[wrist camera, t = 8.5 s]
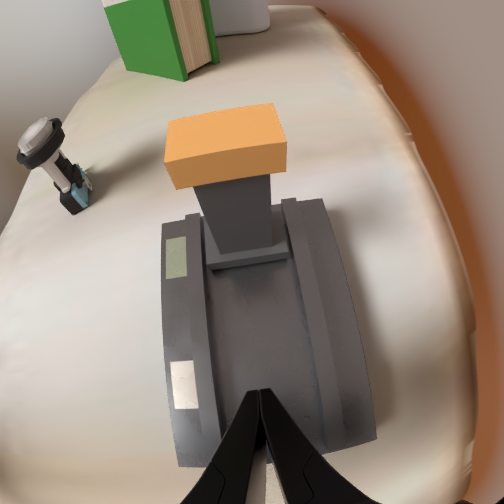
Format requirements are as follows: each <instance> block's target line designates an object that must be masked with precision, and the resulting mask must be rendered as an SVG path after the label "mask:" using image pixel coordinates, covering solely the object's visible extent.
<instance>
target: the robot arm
mask: <svg viewBox="0 0 504 504" xmlns="http://www.w3.org/2000/svg"><path fill="white" fill-rule="evenodd" d="M266 440H267V442H266ZM267 444H268V448H269V452H270V455H271V459H272V462H273V466H274V469H275V472H276V476H277V479H278V482H279V486H280V489H281V492H282V495H283V498H284V502H285V504H381V503H378V502H376V501H374V500H372V499H371V498H369V497H368V496H366V495H365V494H363V493H362V492H361V491H360V490H358V489H357V488H356V487H355V486H353V485H352V484H351V483H350V482H349V481H347V480H346V479H345V478H344V477H343V476H341V475H340V474H339V473H338V472H337V471H336V470H335V469H334V468H333V467H332V466H331V465H330V464H329V463H328V462H327V461H326V460H325V459H324V457H323V456H322V455H321V454H320V453H319V451H318V450H317V449H316V448H315V447H314V445H313V444H312V443H311V441H310V440H309V439H308V438H307V436H306V435H305V434H304V432H303V431H302V430H301V429H300V427H299V426H298V425H297V423H296V422H295V421H294V419H293V418H292V417H291V415H290V414H289V413H288V411H287V410H286V409H285V407H284V406H283V405H282V403H281V402H280V400H279V399H278V398H277V396H276V395H275V394H274V392H273V391H272V389H271V388H264V389H260V390H259V391H258V390H249V391H247V392H246V393H245V395H244V397H243V400H242V402H241V404H240V405H239V407H238V409H237V411H236V413H235V415H234V417H233V419H232V421H231V423H230V425H229V427H228V429H227V431H226V433H225V435H224V436H223V438H222V440H221V442H220V444H219V446H218V448H217V450H216V451H215V453H214V455H213V457H212V459H211V462H209V464H208V466H207V467H206V469H205V471H204V472H203V474H202V476H201V477H200V479H199V480H198V482H197V483H196V484H195V486H194V487H193V488H192V490H191V491H190V492H189V494H188V495H187V496H186V497H185V498H184V500H183V501H182V502H181V503H180V504H265V496H266V458H267ZM454 504H472V503H470V502H468V501H465V500H460V501H458V502H456V503H454ZM496 504H504V497H503V498H502V499H501V500H499V501H498V502H497V503H496Z"/></svg>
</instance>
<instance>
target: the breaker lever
mask: <svg viewBox="0 0 504 504" xmlns="http://www.w3.org/2000/svg"><path fill="white" fill-rule="evenodd" d="M286 154H287V141H286V138H285V135H284V133H283V130H282V127H281V124H280V121H279V119H278V116H277V113H276V110H275V108H274V105H273V103H271V104H262V105H254V106H246V107H239V108H233V109H226V110H221V111H215V112H210V113H204V114H199V115H195V116H190V117H185V118H181V119H177V120H172V121H169V124H168V132H167V140H166V148H165V157H164V164H165V166H166V169H167V171H168V173H169V175H170V177H171V179H172V182H173V184H174V186H175V188H176V190H178V189H183V188H188V187H193V188H194V191H195V194H196V196H197V199H198V201H199V204H200V206H201V209H202V211H203V214H204V216H205V219H206V221H207V222H206V223H204V232H205V248H206V263H207V266H208V268H209V269H210V270H217V269H224V268H230V267H237V266H243V265H250V264H256V263H262V262H269V261H275V260H281V259H288V247H287V242H286V238H285V233H284V229H283V224H282V220H281V215H280V211H275V212H271V188H270V174H272V173H279V172H286Z"/></svg>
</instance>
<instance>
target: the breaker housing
mask: <svg viewBox="0 0 504 504" xmlns="http://www.w3.org/2000/svg"><path fill="white" fill-rule="evenodd" d="M275 211H280V215H281V220H282V224H283V229H284V233H285V238H286V242H287V247H288V259H281V260H275V261H269V262H262V263H256V264H250V265H243V266H237V267H230V268H224V269H217V270H210V269H209V268H208V266H207V263H206V248H205V232H204V223H206V222H207V221H206V219H205V216H202V217H201V215H200V213H195V214H190V215H185V220H180V221H174V222H169V223H164V224H162V238H161V303H162V329H163V346H164V359H165V371H166V382H167V391H168V400H169V408H170V416H171V423H172V430H173V436H174V442H175V448H176V454H177V459H178V464H179V467H207V466H208V464H209V462H211V459H212V457H213V455H214V453H215V451H216V450H217V448H218V446H219V444H220V442H221V440H222V438H223V436H224V435H225V433H226V431H227V429H228V427H229V425H230V423H231V421H232V419H233V417H234V415H235V413H236V411H237V409H238V407H239V405H240V404H241V402H242V400H243V397H244V395H245V393H246V392H247V391H249V390H258V391H259V390H260V389H264V388H271V389H272V391H273V392H274V394H275V395H276V396H277V398H278V399H279V400H280V402H281V403H282V405H283V406H284V407H285V409H286V410H287V411H288V413H289V414H290V415H291V417H292V418H293V419H294V421H295V422H296V423H297V425H298V426H299V427H300V429H301V430H302V431H303V432H304V434H305V435H306V436H307V438H308V439H309V440H310V441H311V443H312V444H313V445H314V447H315V448H316V449H317V450H318V451H319V453H320V454H321V455H322V454H326V453H330V452H335V451H338V450H342V449H346V448H350V447H353V446H357V445H360V444H363V443H366V442H370V441H373V440H376V439H377V436H376V427H375V419H374V412H373V405H372V398H371V392H370V386H369V380H368V374H367V368H366V363H365V358H364V353H363V348H362V343H361V338H360V333H359V329H358V324H357V320H356V315H355V311H354V307H353V303H352V299H351V295H350V291H349V287H348V283H347V279H346V276H345V272H344V268H343V265H342V261H341V258H340V254H339V251H338V247H337V244H336V240H335V237H334V234H333V231H332V227H331V224H330V221H329V218H328V215H327V212H326V209H325V206H324V203H323V200H322V198H321V199H313V200H305V201H298V202H297V201H296V198H289V199H282V200H281V204H276V205H271V212H275ZM266 442H267V440H266ZM269 463H273V462H272V459H271V455H270V452H269V448H268V444H267V458H266V464H269Z"/></svg>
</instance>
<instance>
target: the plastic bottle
mask: <svg viewBox="0 0 504 504" xmlns="http://www.w3.org/2000/svg"><path fill="white" fill-rule="evenodd" d="M209 4H210V10H211V15H212V21H213V27H214V33H215V37H216V36H224V35H234V34H246V33H256V32H261V31H264V30H266V29H268V28H269V26H270V16H269V10H268V3H267V0H209Z"/></svg>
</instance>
